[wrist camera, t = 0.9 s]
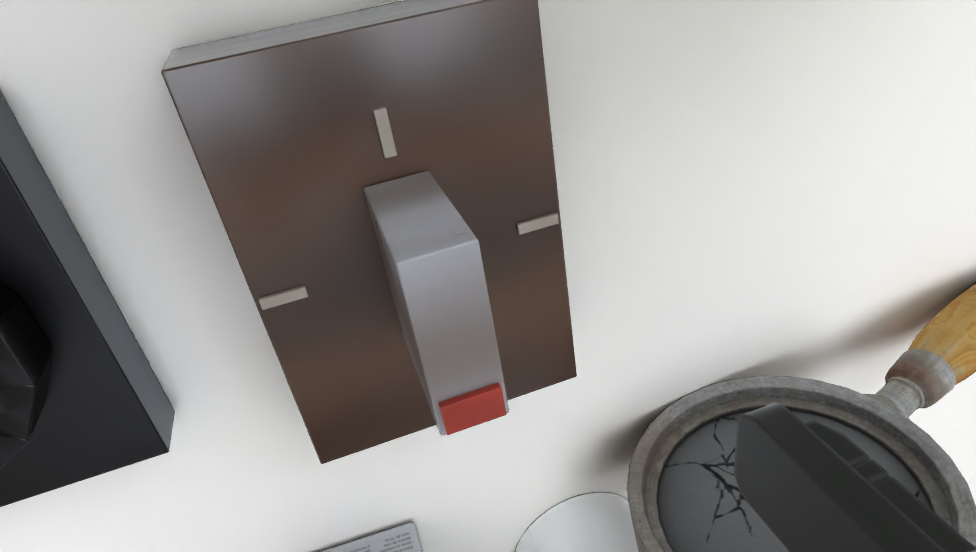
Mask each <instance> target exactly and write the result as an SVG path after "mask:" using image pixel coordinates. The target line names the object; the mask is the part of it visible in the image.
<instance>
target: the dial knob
mask: <svg viewBox="0 0 976 552" xmlns="http://www.w3.org/2000/svg"><path fill="white" fill-rule="evenodd" d="M364 193H365V197H366V201H367V204H368V208H369V212H370V215H371V219H372V223H373V226H374V230H375V234H376V237H377V241H378V245H379V248H380V252H381V255H382V259H383V263H384V266H385V270H386V274H387V277H388V281H389V285H390V288H391V292H392V296H393V299H394V303H395V307H396V310H397V314H398V318H399V321H400V325H401V329H402V332H403V336H404V339H405V342H406V344H407V347H408V350H409V352H410V355H411V358H412V360H413V363H414V366H415V368H416V371H417V374H418V376H419V379H420V382H421V384H422V387H423V390H424V392H425V395H426V398H427V400H428V403H429V406H430V408H431V411H432V414H433V416H434V419H435V422H436V424H437V427H438V430H439V432H440V434H441V435H445V434H447V435H449V434H452V433H455V432H458V431H461V430H464V429H467V428H470V427H472V426H475V425H478V424H481V423H484V422H487V421H490V420H492V419H495V418H498V417H501V416H504V415H506V413H508V412H509V407H508V401H507V396H506V390H505V385H504V379H503V374H502V368H501V362H500V357H499V351H498V346H497V340H496V335H495V329H494V324H493V318H492V313H491V307H490V302H489V296H488V291H487V285H486V280H485V274H484V268H483V263H482V257H481V252H480V246H479V241H478V239H477V238H476V236H475V235H474V234H473V232H472V231H471V230H470V228H469V227H468V225H467V224H466V223H465V221H464V220H463V218H462V217H461V216H460V214H459V213H458V211H457V210H456V209H455V207H454V206H453V204H452V203H451V202H450V200H449V199H448V197H447V196H446V195H445V193H444V192H443V190H442V189H441V188H440V186H439V185H438V183H437V182H436V181H435V179H434V178H433V176H432V175H431V174H430V172H429V171H425V172H421V173H417V174H414V175H410V176H406V177H402V178H399V179H395V180H391V181H387V182H384V183H380V184H376V185H372V186H368V187H365V188H364Z"/></svg>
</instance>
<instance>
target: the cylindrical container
mask: <svg viewBox="0 0 976 552" xmlns="http://www.w3.org/2000/svg"><path fill="white" fill-rule="evenodd" d="M515 552H639V551H638V547H637V542H636V538H635V533H634V528H633V524H632V519H631V514H630V508H629V502H628V501H627V500H626V499H624V498H622V497H621V496H619V495H615V494H611V493H601V492H599V493H589V494H584V495H580V496H577V497H573V498H571V499H569V500H566V501H564V502H562V503H560V504H558V505H556V506H555V507H553V508H551V509H549V510H548V511H547V512H545V513H544V514H543V515H541V516H540V517H539V518H538V519H537V520H536V521H535V522H534V523H533V524H532V525H531V526H530V527H529V528H528V529H527V530H526V532H525V533H524V534H523V536H522V537H521V539H520V541H519V543H518V545H517V548H516V551H515Z"/></svg>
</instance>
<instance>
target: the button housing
mask: <svg viewBox="0 0 976 552" xmlns="http://www.w3.org/2000/svg"><path fill="white" fill-rule="evenodd" d="M174 413H175V411H174V409H173V407H172V406H171V404H170V402H169V400H168V398H167V396H166V394H165V393H164V391H163V389H162V387H161V385H160V383H159V382H158V380H157V378H156V376H155V374H154V372H153V371H152V369H151V367H150V365H149V363H148V361H147V360H146V358H145V356H144V354H143V352H142V350H141V349H140V347H139V345H138V343H137V341H136V339H135V337H134V336H133V334H132V332H131V330H130V328H129V326H128V325H127V323H126V321H125V319H124V317H123V315H122V314H121V312H120V310H119V308H118V306H117V304H116V303H115V301H114V299H113V297H112V295H111V293H110V291H109V290H108V288H107V286H106V284H105V282H104V280H103V279H102V277H101V275H100V273H99V271H98V269H97V268H96V266H95V264H94V262H93V260H92V258H91V257H90V255H89V253H88V251H87V249H86V247H85V246H84V244H83V242H82V240H81V238H80V236H79V234H78V233H77V231H76V229H75V227H74V225H73V223H72V222H71V220H70V218H69V216H68V214H67V212H66V211H65V209H64V207H63V205H62V203H61V201H60V200H59V198H58V196H57V194H56V192H55V190H54V188H53V187H52V185H51V183H50V181H49V179H48V177H47V176H46V174H45V172H44V170H43V168H42V166H41V165H40V163H39V161H38V159H37V157H36V155H35V154H34V152H33V150H32V148H31V146H30V144H29V143H28V141H27V139H26V137H25V135H24V133H23V131H22V130H21V128H20V126H19V124H18V122H17V120H16V119H15V117H14V115H13V113H12V111H11V109H10V108H9V106H8V104H7V102H6V100H5V98H4V97H3V95H2V93H1V91H0V507H2V506H5V505H8V504H11V503H14V502H17V501H20V500H23V499H26V498H29V497H32V496H35V495H39V494H42V493H45V492H48V491H51V490H54V489H57V488H60V487H63V486H66V485H69V484H72V483H75V482H78V481H82V480H85V479H88V478H91V477H94V476H97V475H100V474H103V473H106V472H109V471H112V470H115V469H118V468H121V467H124V466H128V465H131V464H134V463H137V462H140V461H143V460H146V459H149V458H152V457H155V456H158V455H161V454H164V453H167V452H169V447H170V440H171V433H172V426H173V420H174Z"/></svg>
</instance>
